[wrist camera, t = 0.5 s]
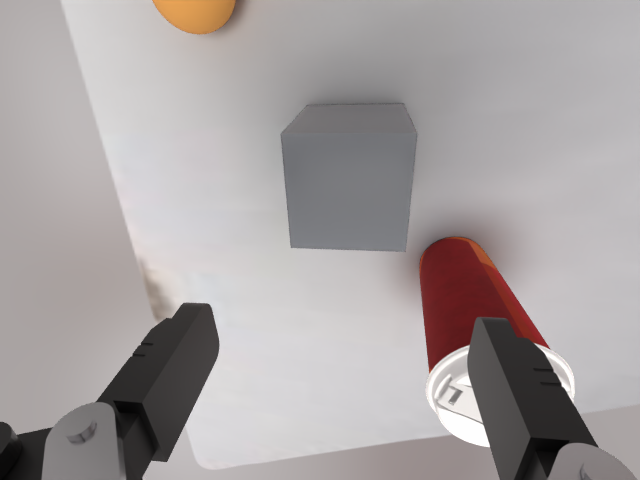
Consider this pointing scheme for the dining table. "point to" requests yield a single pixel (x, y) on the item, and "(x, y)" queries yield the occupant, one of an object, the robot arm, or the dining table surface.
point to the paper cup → (467, 329)
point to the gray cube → (349, 176)
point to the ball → (196, 14)
